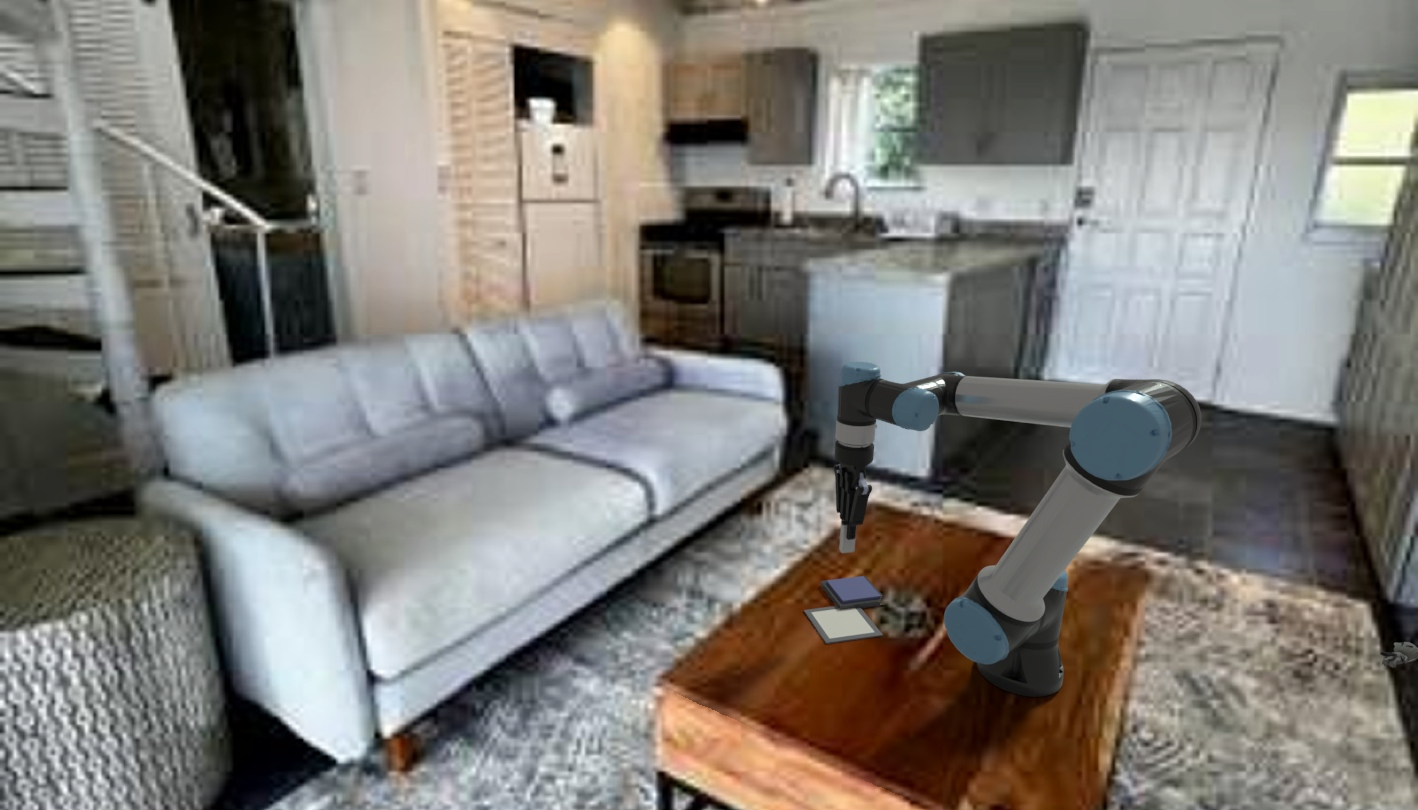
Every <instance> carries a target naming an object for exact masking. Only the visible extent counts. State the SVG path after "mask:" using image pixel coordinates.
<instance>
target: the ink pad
mask: <svg viewBox="0 0 1418 810" xmlns="http://www.w3.org/2000/svg"><path fill="white" fill-rule="evenodd" d="M820 587H821V588H822V590H823V591H824V592H825V594H826V595H827V596H828V597H829V599H830V600H831V601H832V602H833V604H834V606H838V608H839V609H840V610H843V609H851V608H858V607H860V608H861V609H866V608H874V607H875V608H876V607H881V606H880V603H881V602H878V601H879V600H881V598H882V596H884V595H883V594H882V593H881V592H880V590H879V589H878V588H877V587H876V586H875V584H873V583H872V582H871V580H870V579H869V578H868V577H867V576H866V575H859V576H852V577H844V578H842V577H841V578H836V579H835V578H833V579H827V580H821V581H820Z"/></svg>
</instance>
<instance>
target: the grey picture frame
mask: <svg viewBox="0 0 1418 810" xmlns="http://www.w3.org/2000/svg"><path fill="white" fill-rule="evenodd" d="M803 612H804V614H805V616H806V617H807V618H808V620H809V621H810V622H811V625H813V627H814V628H815V630H816V631H817V633H818V635H820V638H821V639H822V640H823V642H824V643H825V644H826V645H831V644H836V643H842V642H843V643H844V642H850V641H858V640H865V639H871V638H878V637H883V635H884V634H883V633H882V631H881V630H880V629H879V628H878V627H877V626H876V624H875V623H874V622H873V621H872V620H871V618H870V617H869V616H868V614H867V613H866V612H865V611H864V610H863V608H860V607H858V608H851V609H843V610H840V609H839V608H838V606H836V605H833V606H826V607H817V608H811V609H808V608H807V609H804V610H803Z"/></svg>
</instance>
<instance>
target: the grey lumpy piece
mask: <svg viewBox="0 0 1418 810" xmlns="http://www.w3.org/2000/svg"><path fill="white" fill-rule="evenodd" d="M1393 645H1394V648H1393V652H1388V651H1380V656H1383V657H1386V658H1384V659H1383V660H1382V661H1381V665H1383V666H1384V667H1390V668H1391V669H1396V667H1397V665H1402V664H1408V663H1412V662H1413V663H1414V664H1415V662H1417V661H1418V647H1417V646H1416V645H1415V644H1414V643H1411V642H1410V641H1402V642H1394V643H1393Z"/></svg>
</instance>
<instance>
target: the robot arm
mask: <svg viewBox="0 0 1418 810" xmlns="http://www.w3.org/2000/svg"><path fill="white" fill-rule="evenodd" d="M837 387H838V394H837V395H838V396H837V399H838V400H837V414H836V420H835V421H836V423H835V437H834V438H835V439H836V441H835V442H834V443H835V444H834V454H833V455H834V459H835V461H836V462H837V463H838V464H834V465H833V472H834V476H835V477H834V478H835V503H836V504H835V506H836V507H835V508H836V513H837V514H839V519H840V520H841V521H840V533H839V535H840V536H839V547H838V550H839V551H840V553H841V554H847V553H849V554H850V553H855V550H856V539H857V538H856V537H857V536H856V535H857V526H862V525H863V524H864V520H865V517H866V516H865V515H866V511H867V506H868V502H869V498H870V494H871V493H872V490H873V486H872V485H871V484H867V481H866V478H867V472H866V471H867V470H866V468H867V466H869V465H870V464H872V462H873V460H874V455H875V454H874V453H875V444H874V442H875V437H876V429H877V427H878V425H877V424H876V423H877V420H878V421H881V422H884V423H888V424H890V425H894V426H897V427H900V428H902V429H904V430H911V431H916V432H925V431H926V430H928V429H930V427H931V425H934V423H935V422H936V420H937V417H938V416H941V415H942V416H943V415H949V416H950V415H951V416H962V417H971V418H978V419H979V418H980V419H990V420H1000V421H1008V422H1016V423H1017V422H1018V423H1027V424H1034V425H1044V426H1054V427H1060V428H1061V427H1063V428H1070V429H1069V437H1068V439H1069V441H1068V442H1067V444H1066V445H1065V446H1064V447H1063V448H1064V449H1062V457H1063V460H1064V462H1065V465H1064V468H1063V469H1062V470H1061V471H1060V473H1059V475H1058V476H1057V477H1056V479H1055V480H1054V481H1053V483H1052V485H1051V486H1050V487H1049V489H1048V490H1047V492H1046V493H1045V494H1044V496H1043V498H1042V499H1041V500H1040V502H1039V503H1038V505H1037V506H1036V507H1035V509H1034V510H1033V511H1032V513H1031V515H1030V516H1029V518H1028V519H1027V521H1026V522H1025V523H1024V524H1023V526H1022V527H1021V529H1020V530H1019V532H1018V533H1017V534H1016V536H1015V538H1014V539H1013V540H1012V542H1011V543H1010V545H1008V547H1007V549H1006V551H1005V552H1004V553H1003V554H1002V556H1001V558H1000V559H999V560H998V562H997V564H994V565H987V566H984V567H983V568H982V569H981V570H980V571H979V572H978V573H977V575H976V577H975V578H974V580H973V581H972V582H971V584H970V585H969V586H968V588H967V590H966V591H965V592H964V593H963V594H962V595H961V596H959V597H955V598H954V599H952V601H951V602H950V603H949V604H948V605H947V607H946V608H945V611H944V614H943V624H944V627H945V629H946V631H947V632H946V633H947V636H948V638H949V640H950V642H951V643H952V645H954V647H955V648H956V649H957V651H959V652H960V653H961V655H963V656H964V657H965V658H967V659H968V660H970V661H972V662H974V663H976V666H977V669H978V671H979V673H980V674H981V675H982V677H984V678H985V679H986V680H987V681H988V682H990V683H991V684H993V686H995V687H997V688H999V689H1001V690H1003V691H1007V692H1009V693H1012V694H1015V695H1018V696H1024V697H1030V698H1031V697H1035V698H1036V697H1037V698H1038V697H1041V698H1042V697H1046V696H1047V697H1048V696H1050V695H1054V694H1056V693H1057V692H1058V691H1059V690H1061V687H1062V686H1063V681H1064V676H1065V675H1064V674H1065V672H1064V665H1063V660H1062V656H1061V651H1060V647H1059V640H1060V633H1061V629H1062V622H1063V616H1064V610H1065V603H1066V600H1067V599H1066V598H1067V594H1068V593H1067V592H1068V591H1069V588H1068V582H1069V576H1068V573H1067V572H1066V569H1067V568H1068V566H1069V565H1071V562H1072V561H1073V560H1074V559H1075V558H1076V556H1077V555H1078V553H1080V551H1081V550H1082V549H1083V547H1084V546H1085V544H1086V543H1087V542H1088V541H1089V539H1090V538H1091V537H1092V536H1093V534H1094V533H1095V532H1096V531H1097V529H1098V528H1099V527H1100V525H1101V524H1102V523H1103V521H1104V520H1105V519H1106V517H1107V516H1108V515H1109V514H1110V513H1111V511H1112V510H1113V509H1114V508H1115V506H1116V504H1118V502H1119V501H1120V500H1121V499H1124V498H1125V499H1126V498H1135V497H1137V496H1138V495H1140V493H1141V492H1142V490H1143V489H1144V488H1145V486H1146V485H1147V484H1148V483H1149V482H1150V481H1151V479H1152V478H1153V476H1155V474H1156V473H1157V471H1159V469H1160V468H1161V467H1162V466H1163V464H1165V462H1166V461H1167V460H1168V459H1170V458H1172V457H1174V456H1175V455H1177V454H1179V453H1180V452H1182V451H1185V449H1187V448H1188V447H1189V446H1191V444H1192V443H1193V442H1194V441H1195V440H1196V439H1197V436H1198V435H1199V432H1200V429H1201V427H1202V426H1201V425H1202V412H1201V408H1200V405H1199V403H1198V401H1197V399H1196V398H1195V397H1194V395H1193V394H1192V393H1191V392H1190V391H1189V390H1188V389H1187V388H1185V387H1183V386H1182V385H1181V384H1178V383H1176V382H1174V381H1170V380H1167V379H1166V380H1165V379H1159V378H1158V379H1157V378H1153V379H1152V378H1149V379H1147V378H1145V379H1141V378H1140V379H1137V378H1136V379H1132V378H1131V379H1123V378H1112V379H1110V380H1109V381H1108V382H1106V384H1104V383H1103V384H1101V383H1086V382H1084V383H1083V382H1071V381H1070V382H1069V381H1053V380H1051V381H1050V380H1037V379H1023V378H1022V379H1021V378H1004V377H989V376H973V375H972V376H971V375H965V374H963V373H962V372H958V371H949V372H948V371H947V372H941V373H939V374H935V375H932V376H929V377H925V378H921V379H917V380H913V381H909V382H905V383H899V382H894V381H889V380H886V379H883V378H882V375H881V368H880V366H878V365H877V364H875V363H872V362H868V361H852V362H847V363H845V364H843V365H842V366H841V368H840V374H839V381H838V386H837Z"/></svg>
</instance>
